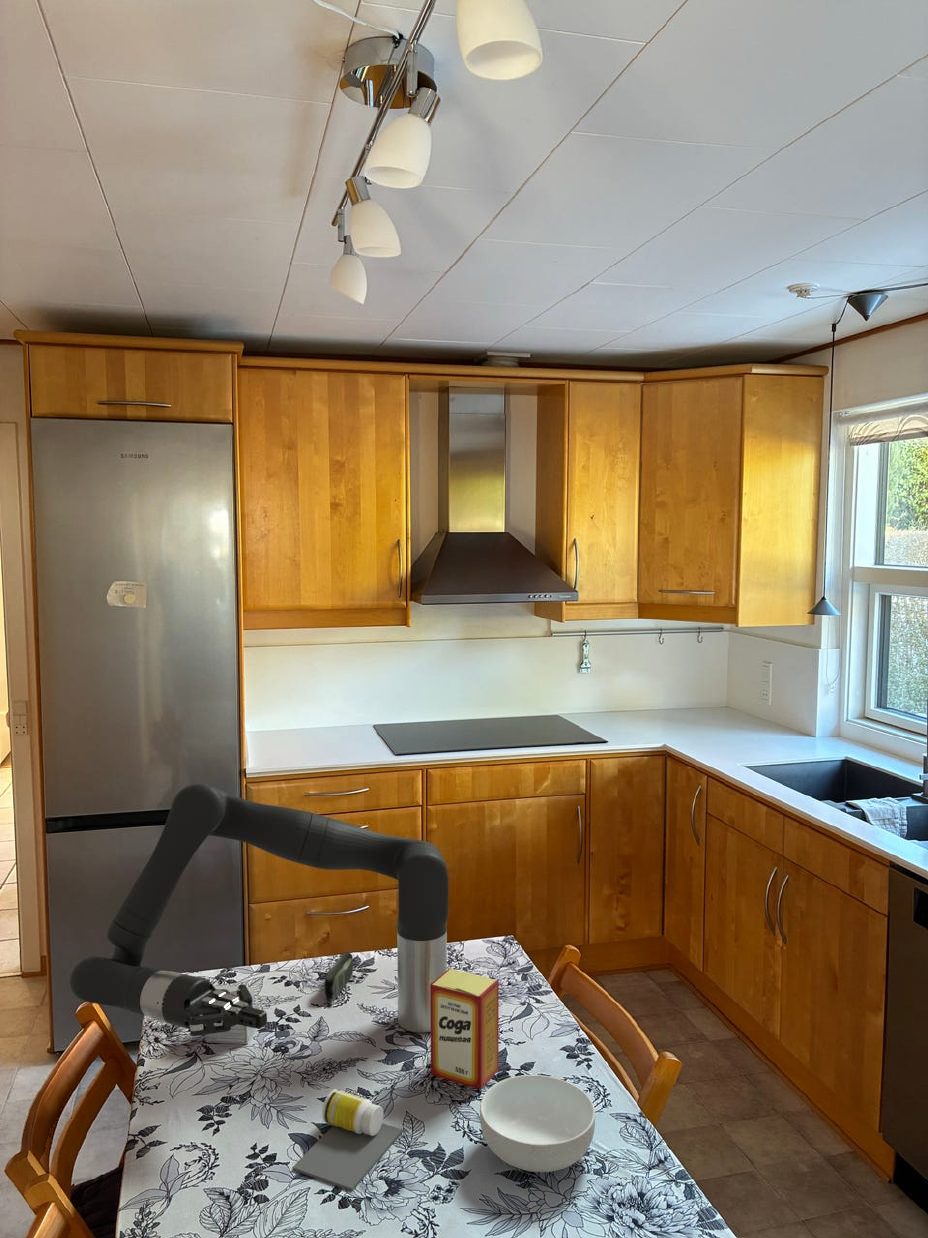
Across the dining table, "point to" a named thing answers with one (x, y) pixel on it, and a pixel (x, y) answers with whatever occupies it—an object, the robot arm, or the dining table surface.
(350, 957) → the dark green elongated piece
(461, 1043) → the baking soda box
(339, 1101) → the supplement bottle
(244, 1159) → the dining table surface
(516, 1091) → the cereal bowl
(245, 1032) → the medicine box
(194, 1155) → the dining table surface
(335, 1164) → the mat
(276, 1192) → the dining table surface
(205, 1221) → the dining table surface
